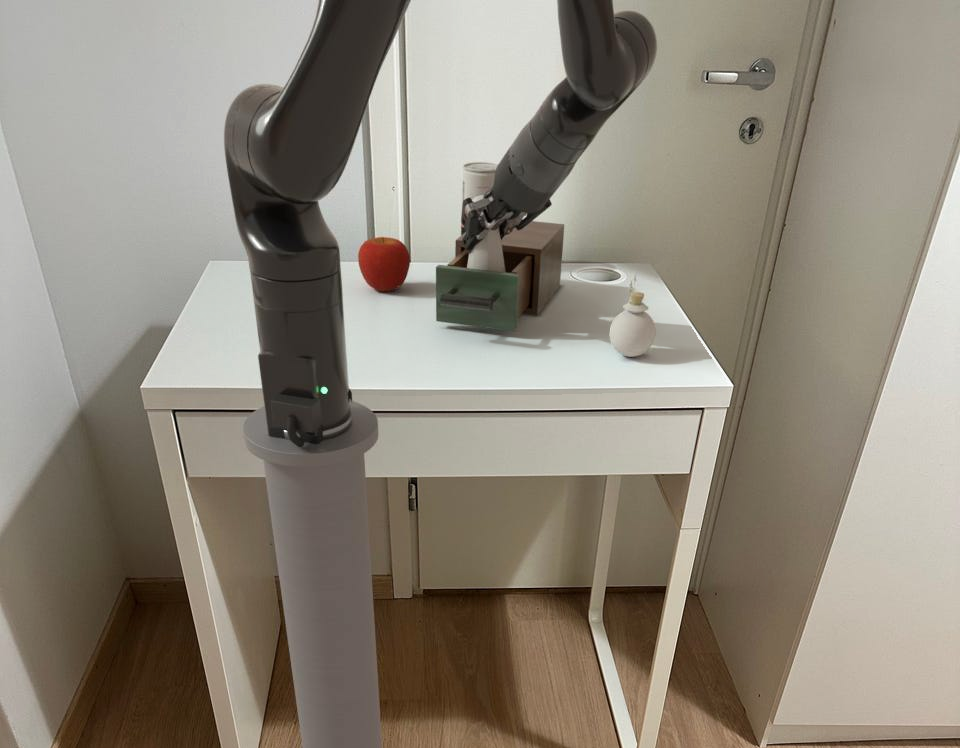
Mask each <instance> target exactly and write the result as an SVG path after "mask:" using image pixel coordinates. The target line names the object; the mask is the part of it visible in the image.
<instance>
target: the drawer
mask: <svg viewBox="0 0 960 748" xmlns="http://www.w3.org/2000/svg"><path fill="white" fill-rule="evenodd" d="M468 258H469V254H468V253H467V251H466V250H464V251H463V252H462V253H460V254H459V255H458V256H457V257H456V258H455V257H454V258H453V259H451V261H449V263H447V264H445V265H443V264H438V265H436V267H435V321H436V322H439V323H447V324H454V325H455V324H456V325H463V326H468V327H469V326H470V327H477V328H478V327H479V328H485V329H495V330H502V331H508V332H509V331H510V332H516V331H517V330H518V324H519V323H518V322H519V318H520V317H521V315H522V314H523V311H524V310H525V309H526V308H527V306H528V305H529V304H530V303H531V302H532V296H533V279H534V262H535V255H529V254H520V253H511V252H503V258H504V265H505V272H497V271H488V270H480V269H471V268H467V264H468Z"/></svg>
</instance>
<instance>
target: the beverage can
mask: <svg viewBox="0 0 960 748" xmlns="http://www.w3.org/2000/svg"><path fill="white" fill-rule="evenodd" d="M498 164H499V163H495V162H487V161H476V162H475V161H473V162H467V163H463V165H462V169H461V192H460V193H461V197H460V199H461V201H460V202H461V204H460V208H461V209H460V216H461V215H462V203H463V201H464V200H465V199H466V198H471V199H472V200H473V199H474V198H475V197H476V196H480V195H484V194H485V193H486V192H487V191H488V190H489V189H491V188H492V187H493V184H494V177H495V171H496V168H497V166H498ZM465 232H466V231H465V229H464V226H463V225H462V223H461V222H460V236H461V235H463V234H464V233H465Z"/></svg>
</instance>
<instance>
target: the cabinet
mask: <svg viewBox="0 0 960 748" xmlns="http://www.w3.org/2000/svg"><path fill="white" fill-rule="evenodd" d="M465 234H466V232H465V233H464V234H463V235H461V234H460V236H459V237H458V238H456V239H455V251H454V252H455V253H454V259H455V258H456V257H457V256H458V255H459V254H460V253H462V252H463V251H464V250H465V248H464V245H463V243H462V238H463V237H464V236H465ZM564 237H565V224H564V223H555V222H544V221H535V220H533V221H531V222H530V223H529V224H528V225H527V226H525V227H524V228H523V229H521V230H517V229H516V228H514V229H513V231H512V232H511V233H510V234H508V235H505V236H504V237H503V238H502V240H501V243H502V251H503V252H511V253H520V254H529V255H535V262H534V279H533V296H532V302H531V303H530V304H529V305H528V306H527V308H526V309H525V310H524V311H523V313H522V314H524V315H530V316H531V315H532V316H538V315H539V314H540V312H541V311H543V309H544V308H545V306H546V305H547V304H548V302H549V301H550V299H551V298H552V297H553V295H555V293H556V292H557V291H558V290H559V288H560V287H561V278H562V277H561V276H562V262H563V252H564V251H563V250H564Z"/></svg>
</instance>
